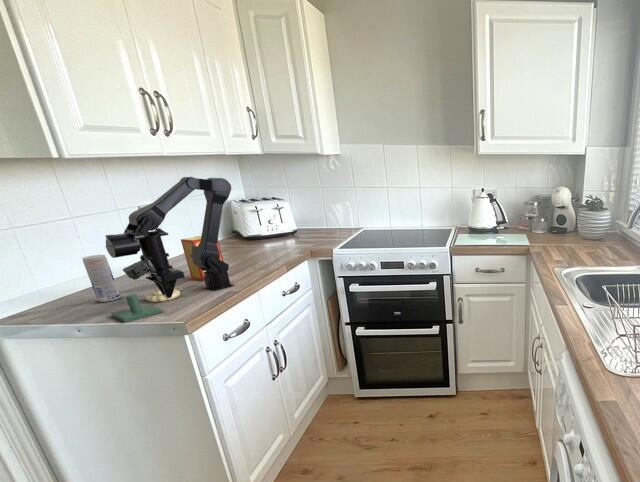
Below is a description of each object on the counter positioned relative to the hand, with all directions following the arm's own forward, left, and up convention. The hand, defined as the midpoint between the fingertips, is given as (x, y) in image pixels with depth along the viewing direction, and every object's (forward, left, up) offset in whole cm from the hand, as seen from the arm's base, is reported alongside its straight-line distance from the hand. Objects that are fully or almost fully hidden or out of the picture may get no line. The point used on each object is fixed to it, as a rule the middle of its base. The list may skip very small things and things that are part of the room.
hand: (167, 297), depth 138 cm
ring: (0, -3, 0) cm, 4 cm away
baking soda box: (-21, -18, -1) cm, 28 cm away
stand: (+11, +8, -1) cm, 13 cm away
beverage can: (+10, -17, -1) cm, 20 cm away
